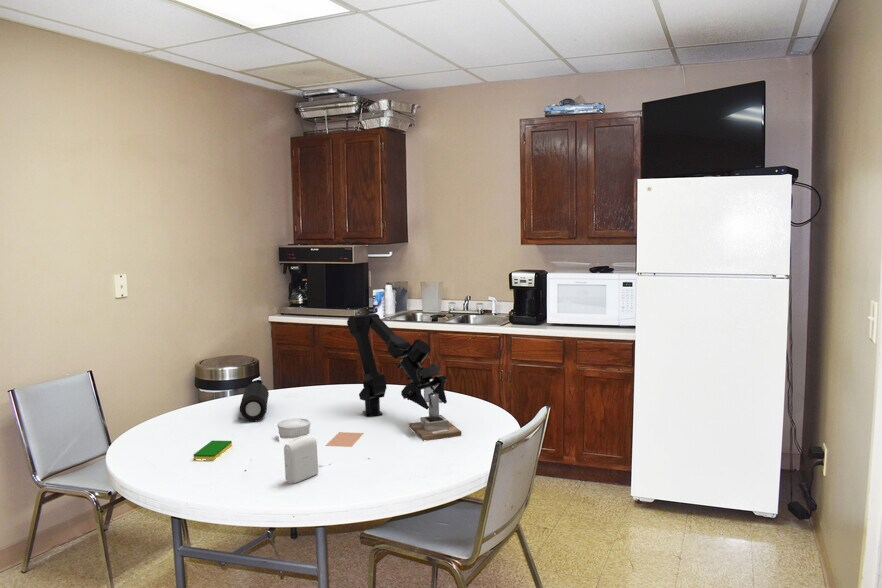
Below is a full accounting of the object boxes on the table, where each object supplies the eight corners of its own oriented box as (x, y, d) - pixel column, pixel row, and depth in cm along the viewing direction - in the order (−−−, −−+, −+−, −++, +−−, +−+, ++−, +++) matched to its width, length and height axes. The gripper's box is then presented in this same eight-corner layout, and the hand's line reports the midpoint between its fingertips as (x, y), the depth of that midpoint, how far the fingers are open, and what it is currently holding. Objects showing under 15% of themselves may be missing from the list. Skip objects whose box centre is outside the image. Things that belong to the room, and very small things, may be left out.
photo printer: (292, 485, 189) (290, 443, 187) (283, 481, 191) (281, 440, 190) (320, 474, 197) (318, 434, 195) (311, 471, 199) (309, 431, 198)
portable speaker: (267, 421, 250) (265, 396, 249) (239, 424, 248) (238, 398, 247) (269, 404, 275) (268, 380, 274) (244, 405, 273) (243, 382, 272)
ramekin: (317, 436, 232) (316, 421, 231) (290, 444, 224) (289, 429, 223) (298, 430, 239) (298, 416, 239) (271, 437, 231) (271, 423, 231)
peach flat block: (339, 436, 231) (339, 432, 231) (364, 437, 229) (364, 433, 229) (325, 450, 217) (325, 445, 217) (351, 451, 216) (351, 446, 216)
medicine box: (443, 399, 276) (443, 379, 275) (442, 402, 272) (442, 381, 271) (425, 399, 277) (424, 379, 276) (423, 402, 272) (423, 381, 271)
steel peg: (428, 428, 233) (427, 395, 231) (430, 425, 236) (429, 392, 235) (438, 428, 232) (437, 395, 231) (440, 425, 235) (439, 392, 234)
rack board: (409, 427, 239) (408, 415, 239) (445, 422, 244) (445, 410, 244) (423, 440, 224) (422, 428, 224) (461, 435, 229) (461, 422, 229)
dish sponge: (193, 462, 210) (192, 454, 210) (212, 447, 224) (211, 440, 224) (214, 462, 210) (214, 454, 209) (232, 447, 223) (232, 440, 223)
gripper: (406, 361, 227) (429, 398, 221) (443, 352, 241) (466, 387, 234) (391, 380, 233) (413, 416, 227) (427, 370, 247) (450, 404, 241)
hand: (437, 405), depth 232 cm, fingers open, 9 cm apart
